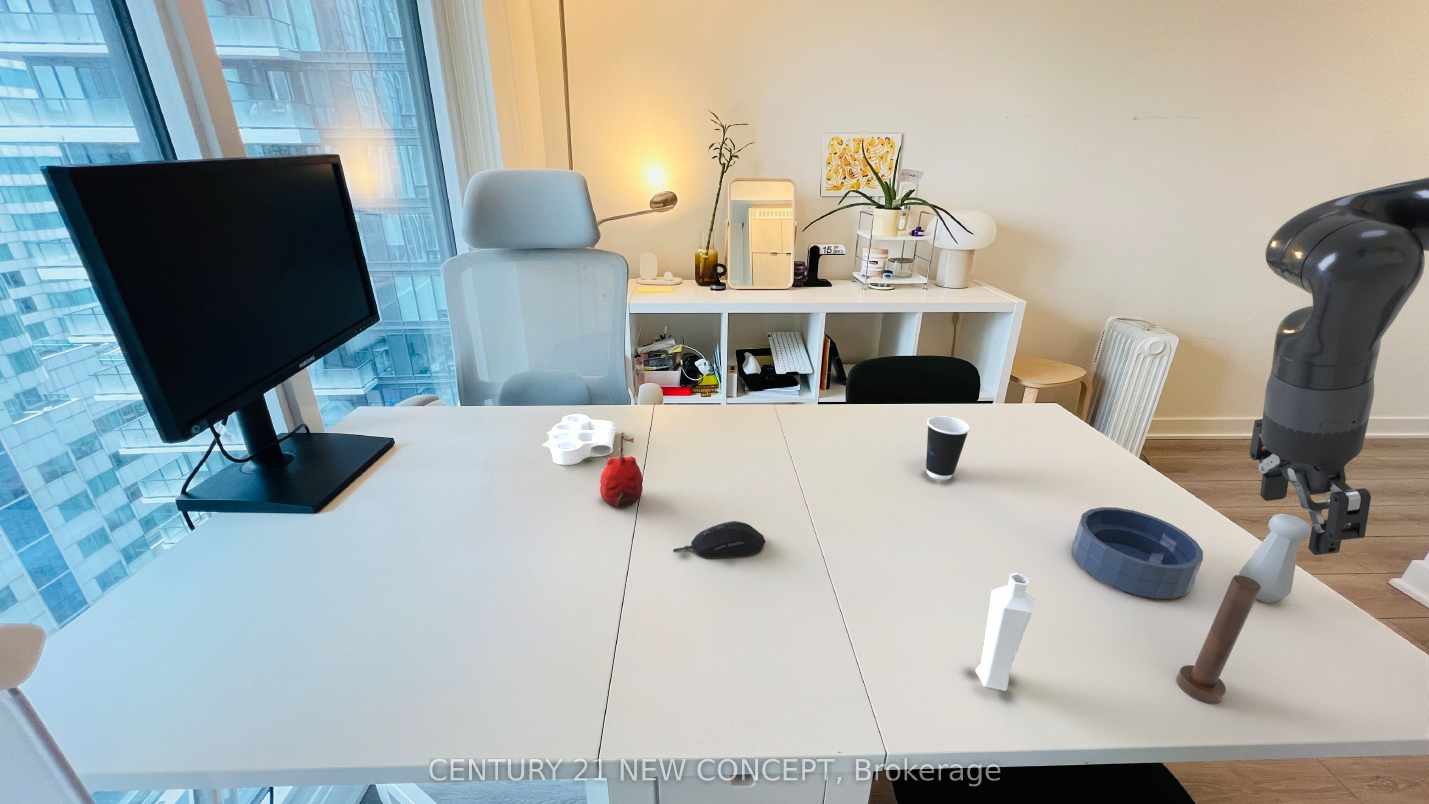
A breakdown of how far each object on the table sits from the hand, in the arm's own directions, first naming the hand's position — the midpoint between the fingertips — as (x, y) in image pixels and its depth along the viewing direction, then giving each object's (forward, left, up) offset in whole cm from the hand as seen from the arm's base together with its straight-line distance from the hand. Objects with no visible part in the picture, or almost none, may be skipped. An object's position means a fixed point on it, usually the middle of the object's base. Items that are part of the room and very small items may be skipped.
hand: (1296, 523), depth 67 cm
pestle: (+3, +7, -21) cm, 23 cm away
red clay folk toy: (+87, +21, -21) cm, 92 cm away
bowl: (+12, -15, -21) cm, 29 cm away
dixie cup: (+45, -26, -21) cm, 56 cm away
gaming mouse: (+65, +21, -21) cm, 72 cm away
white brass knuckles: (+110, +11, -21) cm, 113 cm away
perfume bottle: (+23, +21, -21) cm, 38 cm away
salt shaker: (-4, -20, -21) cm, 29 cm away
